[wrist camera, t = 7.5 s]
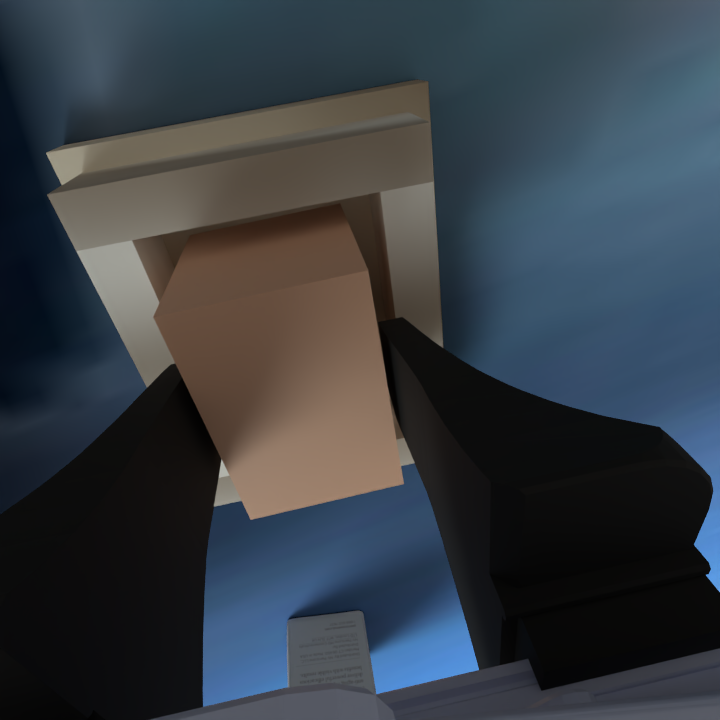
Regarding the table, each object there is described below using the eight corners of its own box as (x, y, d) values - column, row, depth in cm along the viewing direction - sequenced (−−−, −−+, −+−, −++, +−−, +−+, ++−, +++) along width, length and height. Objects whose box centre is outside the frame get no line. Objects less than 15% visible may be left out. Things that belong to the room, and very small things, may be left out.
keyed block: (339, 203, 12) (368, 270, 9) (373, 381, 16) (403, 483, 12) (190, 235, 12) (152, 317, 8) (256, 407, 16) (250, 519, 12)
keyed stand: (439, 407, 18) (465, 463, 16) (209, 456, 18) (198, 521, 15) (417, 79, 12) (454, 86, 9) (62, 145, 12) (3, 171, 9)
